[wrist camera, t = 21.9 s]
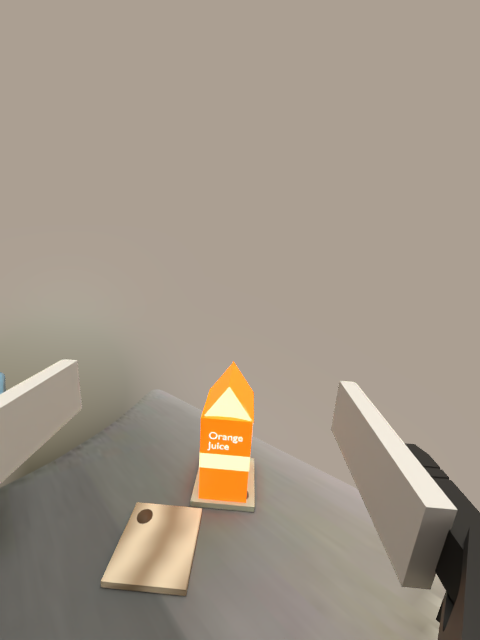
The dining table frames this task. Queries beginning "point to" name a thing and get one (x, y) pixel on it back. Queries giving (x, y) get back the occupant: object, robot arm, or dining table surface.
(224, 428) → the orange juice
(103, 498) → the dining table surface
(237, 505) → the tile two
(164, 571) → the tile one
